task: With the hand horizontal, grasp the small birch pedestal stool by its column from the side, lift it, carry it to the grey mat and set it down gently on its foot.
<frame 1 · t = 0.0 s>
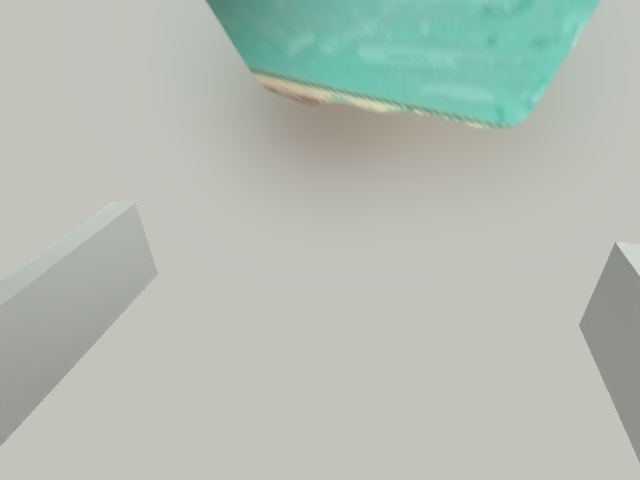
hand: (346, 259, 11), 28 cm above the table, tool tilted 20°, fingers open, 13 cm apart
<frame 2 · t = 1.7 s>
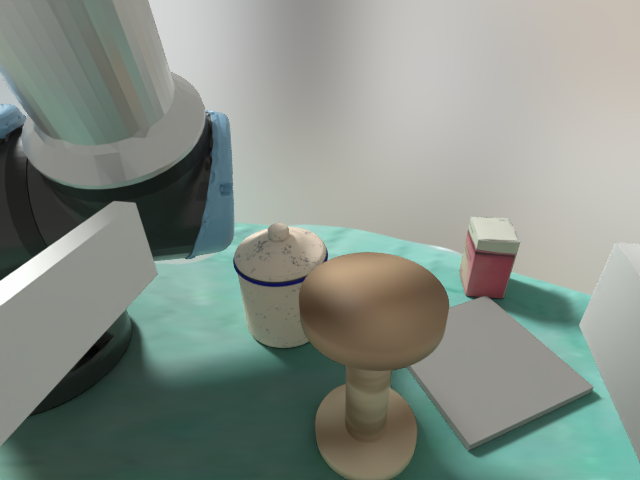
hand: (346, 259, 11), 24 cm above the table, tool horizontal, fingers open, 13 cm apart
mat: (478, 361, 38), on the table
teacup with lid: (290, 311, 45), on the table
small box: (480, 285, 47), on the table
stool: (365, 431, 32), on the table
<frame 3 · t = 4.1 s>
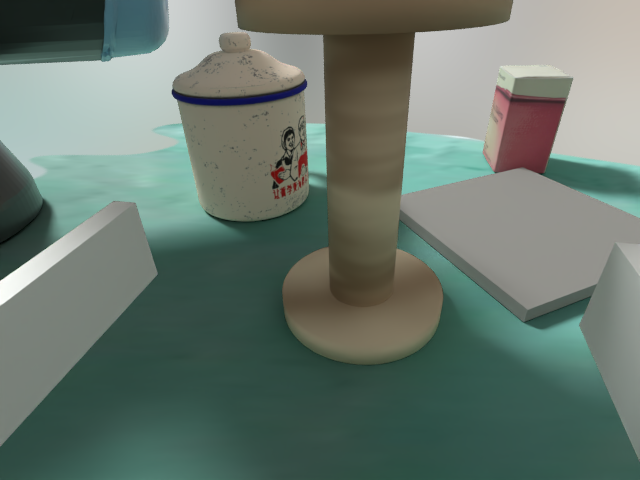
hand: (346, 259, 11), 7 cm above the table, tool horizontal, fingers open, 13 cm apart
mat: (521, 229, 26), on the table
teacup with lid: (260, 191, 33), on the table
small box: (511, 165, 36), on the table
stool: (360, 303, 21), on the table
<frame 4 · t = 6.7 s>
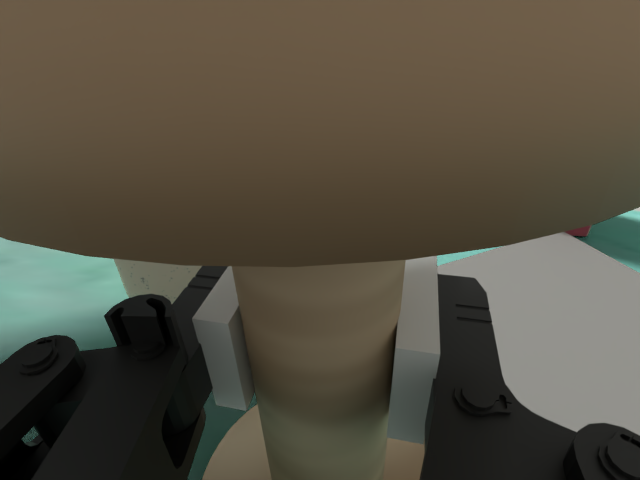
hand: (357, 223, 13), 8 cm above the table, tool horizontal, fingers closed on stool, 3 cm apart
mat: (570, 341, 18), on the table
teacup with lid: (213, 260, 25), on the table
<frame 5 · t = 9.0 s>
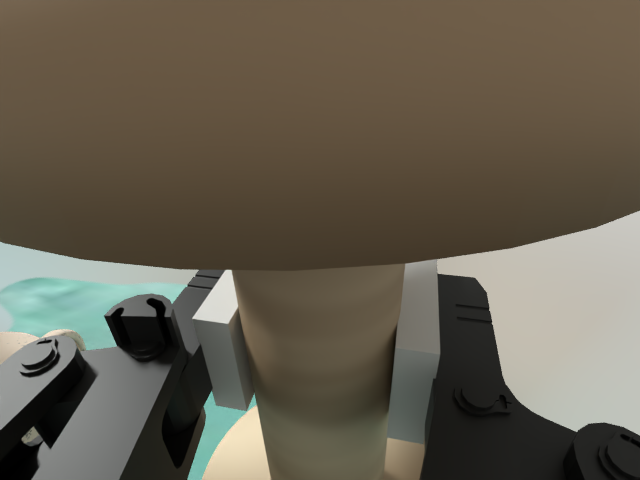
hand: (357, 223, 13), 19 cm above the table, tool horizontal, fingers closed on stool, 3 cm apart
teacup with lid: (47, 466, 26), on the table
when the fingers open (10 cm above the table, at t = 11.2 s): stool drops 1 cm, resting on mat.
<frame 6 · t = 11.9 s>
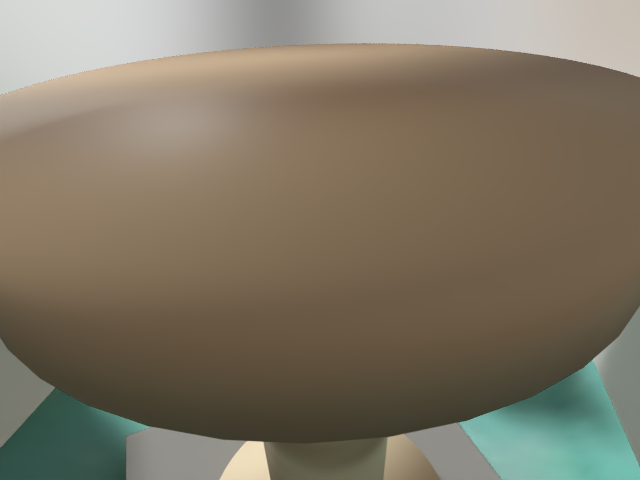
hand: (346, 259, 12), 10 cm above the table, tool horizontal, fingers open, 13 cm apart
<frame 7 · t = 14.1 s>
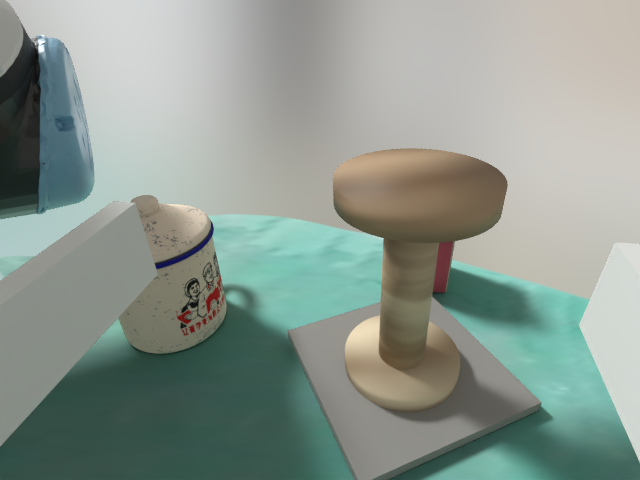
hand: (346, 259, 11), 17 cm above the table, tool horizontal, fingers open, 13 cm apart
mat: (399, 370, 29), on the table
teacup with lid: (186, 309, 37), on the table
small box: (421, 278, 39), on the table
stool: (400, 363, 29), point 1 cm above the table, touching mat
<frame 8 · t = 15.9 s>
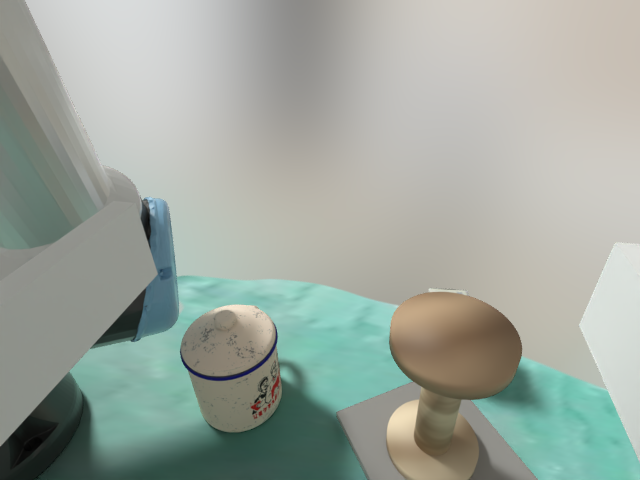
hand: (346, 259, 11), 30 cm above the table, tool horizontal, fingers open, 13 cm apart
mat: (429, 449, 37), on the table
teacup with lid: (246, 386, 44), on the table
stool: (430, 445, 37), point 1 cm above the table, touching mat
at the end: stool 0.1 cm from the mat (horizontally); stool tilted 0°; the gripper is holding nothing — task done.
